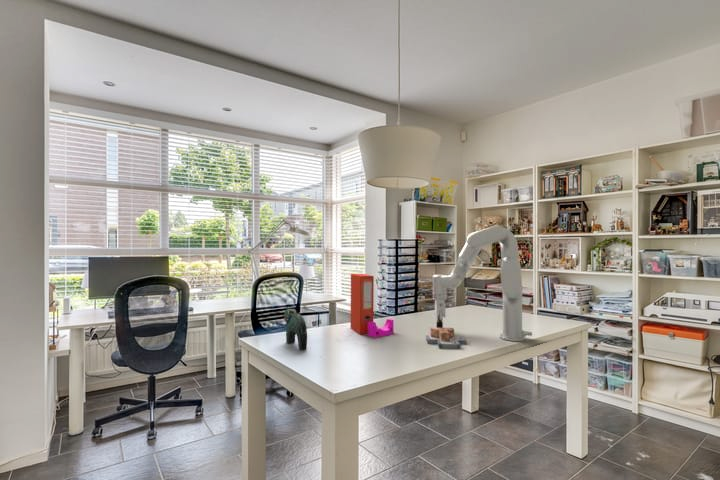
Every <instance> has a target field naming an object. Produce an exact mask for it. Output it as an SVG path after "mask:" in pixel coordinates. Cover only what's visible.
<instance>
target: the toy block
mask: <svg viewBox="0 0 720 480" xmlns="http://www.w3.org/2000/svg"><path fill="white" fill-rule="evenodd" d="M394 325H395V323H394V319H393V318H386V321H385V323H384V325H383V326H382V327H378V326H377V323H376V321H373V322H372V321H370V322H368V334H367V336H368V337H371V336H372V337H371V338H374V339H375V338H380V336H381V337H385V336H386V335H387V336H391V335H390V334H393V333H394V332H395V331H394V329H395V328H394V327H395V326H394Z"/></svg>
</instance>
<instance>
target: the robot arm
mask: <svg viewBox="0 0 720 480" xmlns="http://www.w3.org/2000/svg"><path fill="white" fill-rule="evenodd" d="M494 243H495V244H496V243H498V244H499V246H500V254H501V255H500V256H501V264H500V279H501V282H500V283H501V290H502V333H500V335H499V338H500V339H502V340H505V341H509V342H524V341H526V337H527V336H530V337H531V336H533V332H532V331H527V330H523V281H522V279H523V278H522V269H521V268H522V267H521V263H520V256H519V255H520V254H519V247H518V246H519V245H518V241H517V238H516V236H515V234H513V232H512V231H510V230H509V229H508V228H505V227H504V226H501V225H498V224H497V225H491V226H489V227H486V228H484V229H479V230H477V231H473V232H471V233H469V234H468V235H467V238H466V241H465V243H464V246H463V247H462V249H461V251H460V252H459V254H458V256H457V260H456V263H455V266H454V268H453V270H452V271H451V273H450V274H449V275H445V274H442V273H441V274H433V275H432V300H434V315H435V317H436V328H444V327H443V326H444V325H443V321H444V320H443V318H446V317H447V316H446V315H447V314H446V300H447V289H456V288H458V287H460V285H461V284H462V282H463V281H464V279H465V277H466V275H467V273H468V272H469V270H470V268H471V267H472V266H473V263H474V262H475V260H476V258H477V256H478V254H479V253H480V251H481V250H482V248H483V247H486V246H489V245H492V244H494Z"/></svg>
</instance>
